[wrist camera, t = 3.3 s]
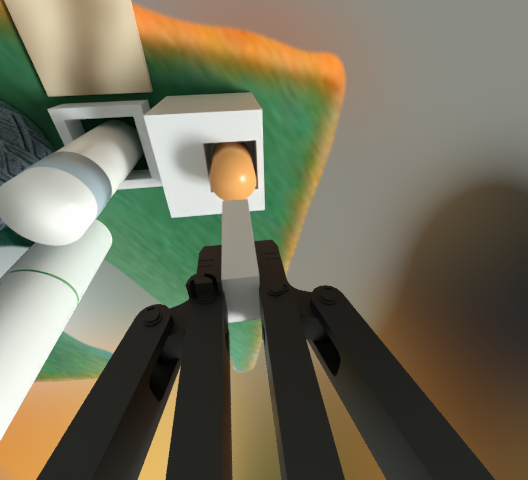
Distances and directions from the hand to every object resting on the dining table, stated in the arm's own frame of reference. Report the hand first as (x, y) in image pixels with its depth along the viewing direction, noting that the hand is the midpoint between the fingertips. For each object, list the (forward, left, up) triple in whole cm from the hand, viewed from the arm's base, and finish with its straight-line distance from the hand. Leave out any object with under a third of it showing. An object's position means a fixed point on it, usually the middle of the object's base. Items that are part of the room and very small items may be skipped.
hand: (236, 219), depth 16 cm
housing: (-7, 0, -18) cm, 20 cm away
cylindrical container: (-22, -12, -19) cm, 31 cm away
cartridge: (-13, 0, -19) cm, 22 cm away
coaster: (-13, +10, -18) cm, 24 cm away
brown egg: (0, 0, -12) cm, 12 cm away
